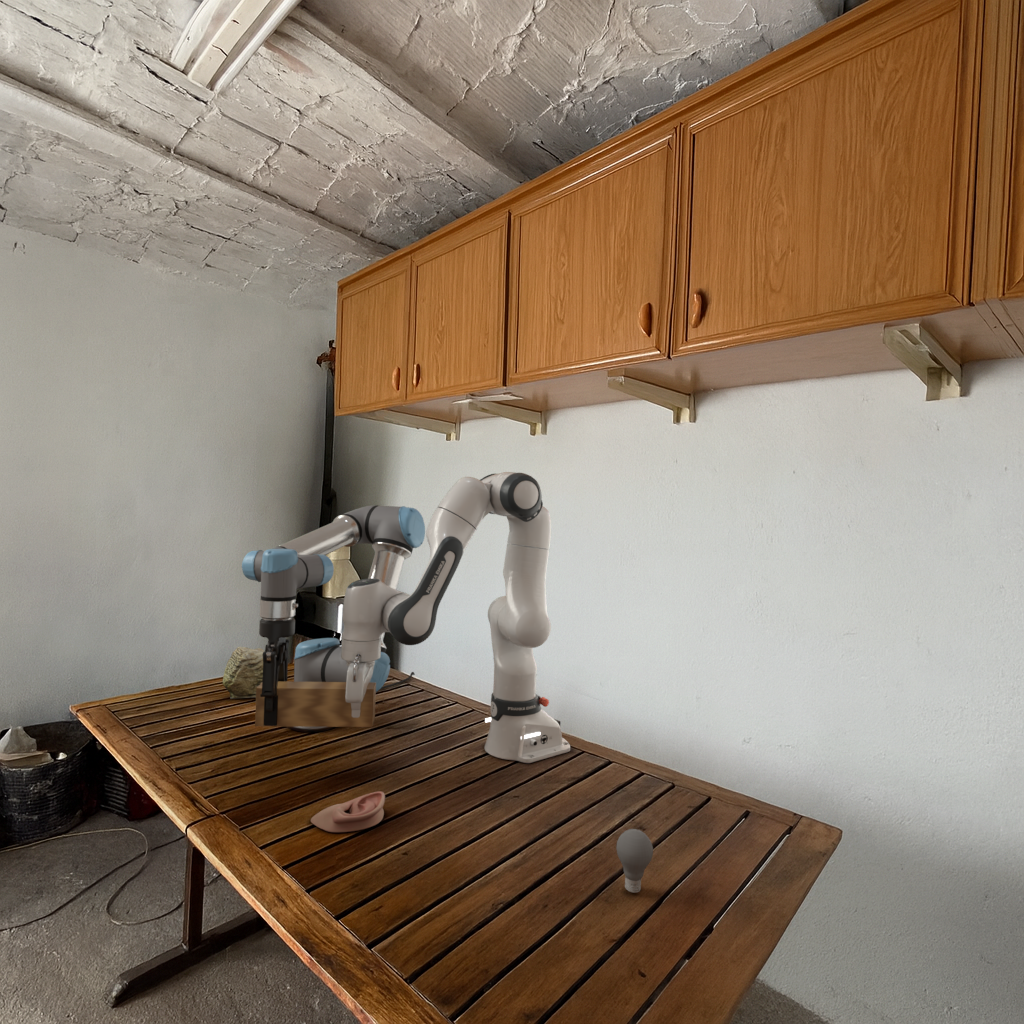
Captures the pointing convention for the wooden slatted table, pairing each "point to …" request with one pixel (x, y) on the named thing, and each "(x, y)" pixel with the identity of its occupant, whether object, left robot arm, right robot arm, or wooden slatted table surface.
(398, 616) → the right robot arm
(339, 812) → the anatomical model
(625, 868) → the light bulb
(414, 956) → the wooden slatted table surface
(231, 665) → the fossil
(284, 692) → the bar
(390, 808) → the wooden slatted table surface
